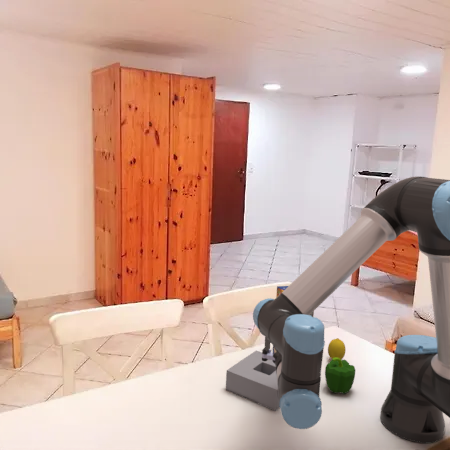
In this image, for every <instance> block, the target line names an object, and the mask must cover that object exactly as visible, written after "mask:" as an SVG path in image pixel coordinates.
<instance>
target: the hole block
mask: <svg viewBox="0 0 450 450" xmlns="http://www.w3.org/2000/svg"><path fill="white" fill-rule="evenodd" d="M225 375H226V376H225V379H226V380H225V391H227V392H230V393H232V394H234V395H236V396H239V397H241V398H243V399H246V400H249V401H251V402H253V403H255V404H257V405H260V406H263V407H265V408H267V409H270V410H272V411H274V412H276V411H278V409H280V407H279V403H280V400H279V389H278V383H277V375H276V366H275V363H273V360H269V359H268V360H267V361H262V351H260V350H259V351H258V350H254V351H253V352H252V353H250V354H248V355H247V356H246V357H244V358H243V359H241V360H240V361H238V362H237V363H235V364H234V365H232V366H231V367H229V368H228V369H226V373H225Z"/></svg>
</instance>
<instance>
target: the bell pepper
mask: <svg viewBox="0 0 450 450" xmlns="http://www.w3.org/2000/svg"><path fill="white" fill-rule="evenodd" d="M324 375H325V376H324V377H325V381H326V382H325V383H326V386H327V388H328V390H329V391H330V392H331V393H336V394H338V393H340V394H344V395H346V394H348V393H349V392H350V391H351V389H352V388H353V385H354V381H355V377H356V368H355V366H354V365H353V364H350V363H349V362H348V361H347V360H346V359H339V358H336V357H335V358H332V359H331V360H329V362H328V363H327V364H326V366H325V369H324Z"/></svg>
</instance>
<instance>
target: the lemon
mask: <svg viewBox="0 0 450 450" xmlns="http://www.w3.org/2000/svg"><path fill="white" fill-rule="evenodd" d="M327 354H328V356H329V358H330V359H331V360H332V358H335V357H336V358H339V359H341V360H343V359H344V357H345V354H346V345H345V342H344V341H343V340H341V339H340V338H334V339H332V340H331V341H330V342H329V344H328V347H327Z"/></svg>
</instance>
